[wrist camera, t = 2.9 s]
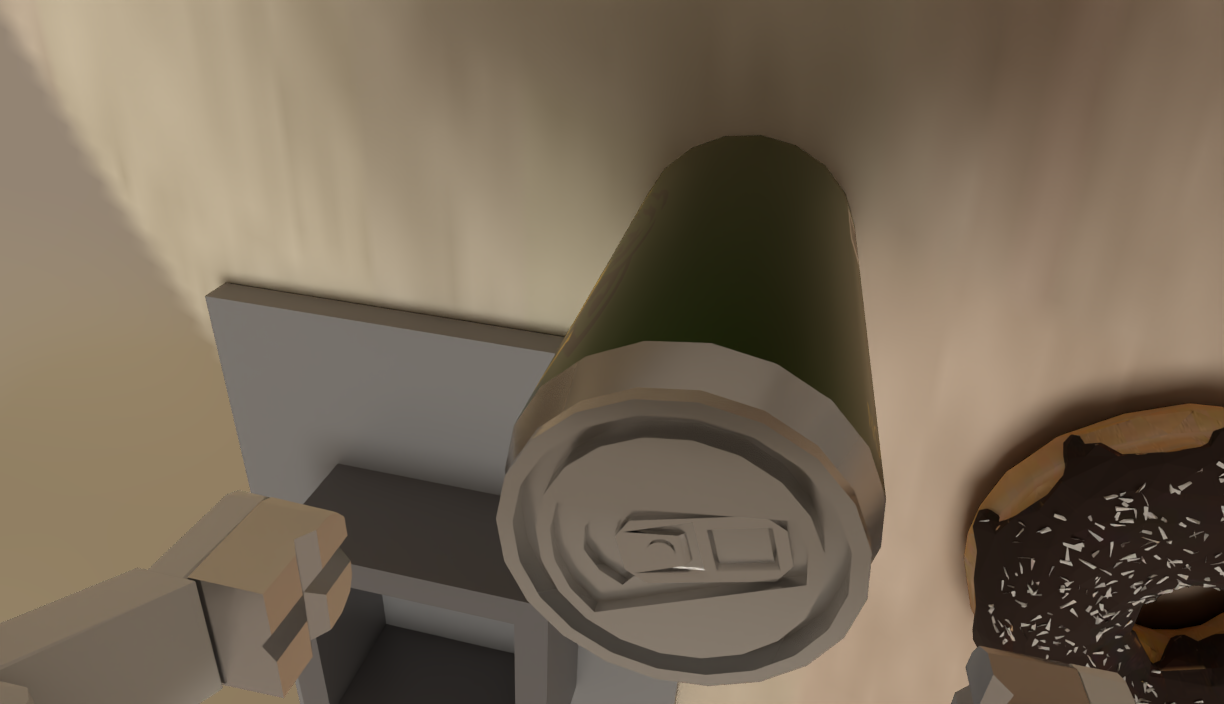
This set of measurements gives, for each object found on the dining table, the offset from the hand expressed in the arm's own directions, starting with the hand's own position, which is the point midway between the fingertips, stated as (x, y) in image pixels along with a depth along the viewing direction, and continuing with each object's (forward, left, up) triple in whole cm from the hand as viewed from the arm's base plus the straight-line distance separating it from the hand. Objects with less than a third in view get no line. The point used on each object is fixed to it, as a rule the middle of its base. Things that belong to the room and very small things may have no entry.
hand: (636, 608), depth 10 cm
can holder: (+13, -8, -13) cm, 20 cm away
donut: (+8, +13, -13) cm, 20 cm away
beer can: (-1, 0, -13) cm, 13 cm away
